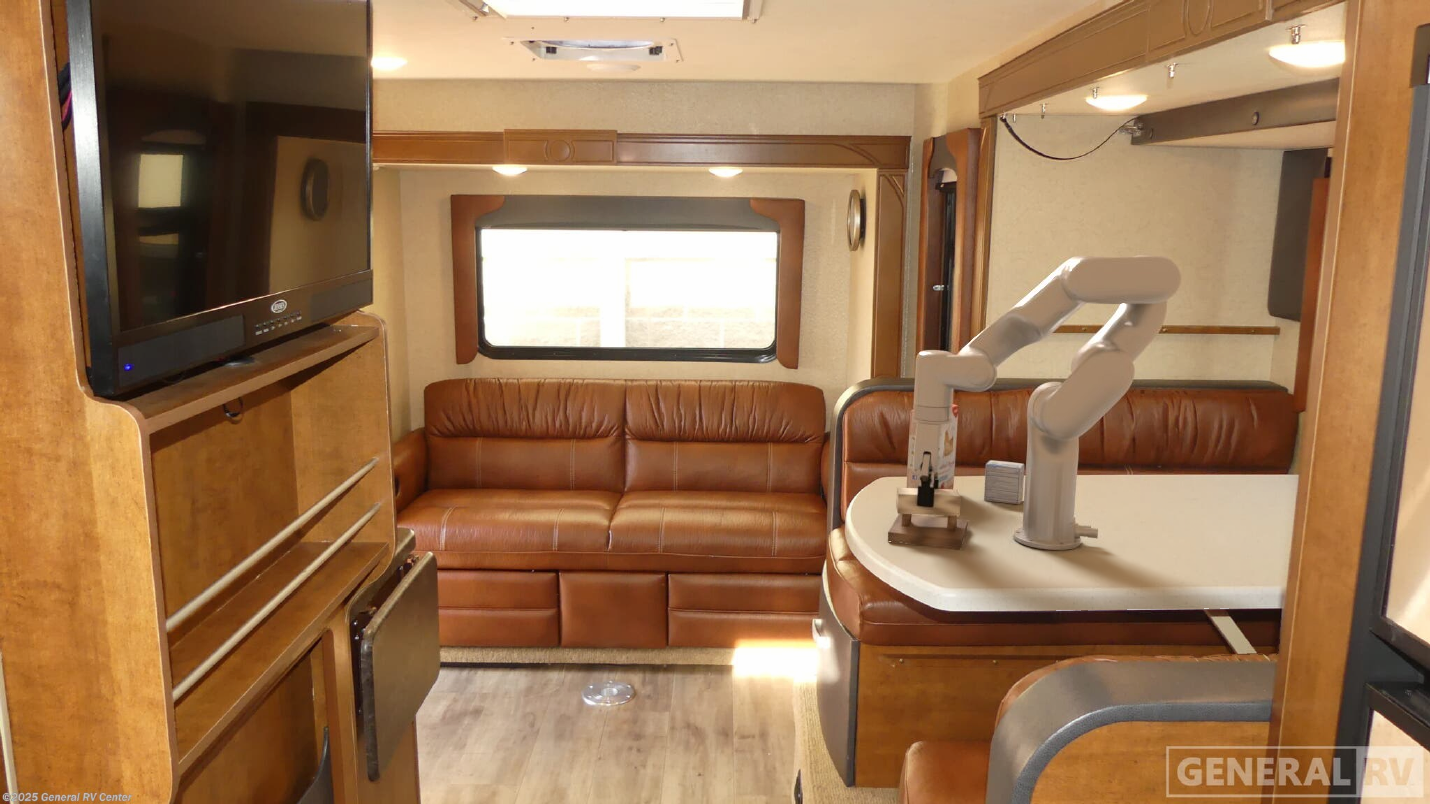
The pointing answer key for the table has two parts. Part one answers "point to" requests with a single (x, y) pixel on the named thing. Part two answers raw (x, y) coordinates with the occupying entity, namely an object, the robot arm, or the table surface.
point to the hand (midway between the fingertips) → (927, 501)
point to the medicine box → (1004, 482)
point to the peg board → (929, 531)
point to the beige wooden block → (943, 505)
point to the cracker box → (948, 455)
